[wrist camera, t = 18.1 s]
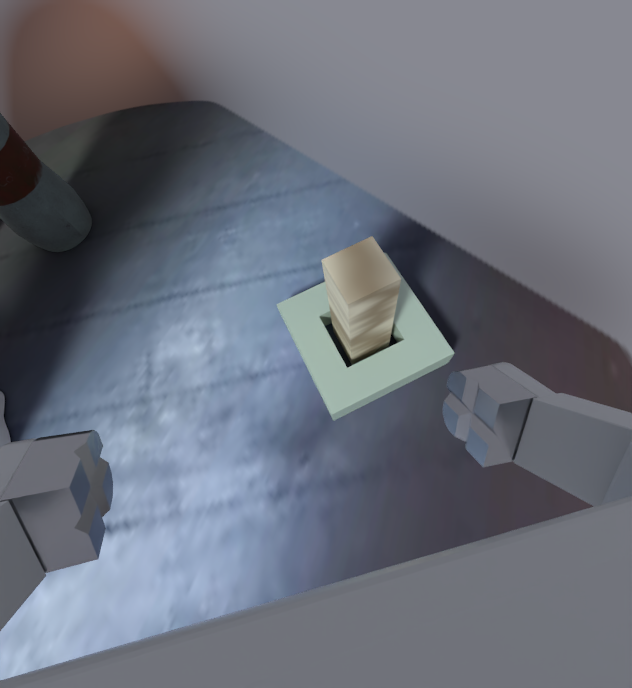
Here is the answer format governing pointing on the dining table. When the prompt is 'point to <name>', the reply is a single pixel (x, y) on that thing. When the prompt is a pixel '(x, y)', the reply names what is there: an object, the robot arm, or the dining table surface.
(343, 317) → the peg
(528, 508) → the dining table surface
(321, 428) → the dining table surface
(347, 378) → the socket plate
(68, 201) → the bottle
